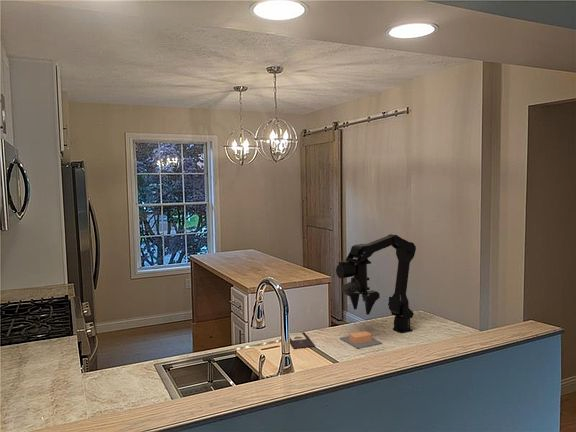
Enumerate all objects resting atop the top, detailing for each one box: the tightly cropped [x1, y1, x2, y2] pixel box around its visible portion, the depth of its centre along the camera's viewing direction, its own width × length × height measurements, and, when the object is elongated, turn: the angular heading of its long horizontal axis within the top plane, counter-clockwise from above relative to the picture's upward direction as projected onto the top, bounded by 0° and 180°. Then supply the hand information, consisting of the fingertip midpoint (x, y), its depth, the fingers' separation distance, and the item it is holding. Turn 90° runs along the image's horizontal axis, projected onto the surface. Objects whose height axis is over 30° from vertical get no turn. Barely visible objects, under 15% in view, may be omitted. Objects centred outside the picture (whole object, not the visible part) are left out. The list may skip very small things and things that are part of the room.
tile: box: [348, 330, 373, 344], centre depth 187 cm, size 5×8×2 cm, turn 114°
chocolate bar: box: [289, 331, 316, 350], centre depth 190 cm, size 9×1×18 cm
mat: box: [338, 335, 383, 350], centre depth 187 cm, size 12×14×1 cm
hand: (361, 311), depth 189 cm, fingers open, 9 cm apart
